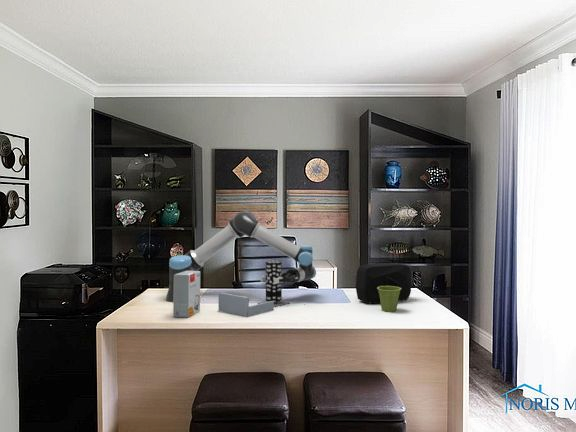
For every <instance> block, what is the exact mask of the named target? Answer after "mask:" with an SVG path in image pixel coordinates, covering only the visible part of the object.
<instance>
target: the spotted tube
mask: <svg viewBox="0 0 576 432" xmlns="http://www.w3.org/2000/svg"><path fill="white" fill-rule="evenodd" d="M282 271H283V270H282V261H277V260H275V261H274V260H272V261H271V260H270V261H265V276H266V281H265V301H274V302H278V301H283V300H282V298H283V297H282V295H283V293H282V290H283V289H282V283H278V284H274V278H280V277H282Z"/></svg>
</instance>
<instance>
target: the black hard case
mask: <svg viewBox="0 0 576 432" xmlns="http://www.w3.org/2000/svg"><path fill="white" fill-rule="evenodd" d="M380 286H395V287H400V288H401V290H400V294H399V298H398V302H401V301H406V300H408V299H409V298H410V295H411V294H412V293H411V292H412V273H411V267H410V266H408V265H407V264H403V263H399V262H398V263H397V262H384V263H371V264H368V263H367V264H363V265H359V266H358V267H357V270H356V276H355V292H356V295H357V296H356V297H357V300H359V301H360V302H363V303H366V304H381V302H380V295H379V291H378V289H377V287H380Z"/></svg>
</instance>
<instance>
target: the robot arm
mask: <svg viewBox="0 0 576 432" xmlns="http://www.w3.org/2000/svg"><path fill="white" fill-rule="evenodd" d="M227 222H228V223H227V226H226V227H224V228H222V230H219V232H218V233H216V234H215V235H214V236H213V235H212V237H210V239H208V240H206V242H204V243H202V245H200V246H199V247H197V248H196V249H195V250H193V249H190V250H189V251H188V252H187V253H185V254H184V255H180V254H179V255H175V256H172V257H170V258H169V262H168V264H169V265H168V267H169V286H168V289H167V293H166V296H165V300H166V301H168V302H172V303H173V295H174V275H175V274H178V273H181V272H184V271H199V270H200V269H202V268H203V267H204V263H206V261H208V260H209V259H211V258H212V257H213V256H215V254H217V253H219V252H220V251H221V250H222V249H224V248H225V247H227V246H228V245H229V244H230V243H232V242H233V241H234V240H236V239H241V238H243V237H244V236H247V237H248V238H254V239H256V240H258V241H260V242H262V243H263V244H266V245H267V246H269V247H271V249H272V248H273V249H274V250H276V251H278V252H280V253H281V254H283V255H284V256H286V257H288V258H290V259H292V260H293V261H295V262H297V263H298V267H295V268H290V269H288V270H287V271H286V272H283V273H282V277H280V278H274V284H278V283H292V284H293V283H299V282H302V281H308V280H309V281H310V280H312V279H314V278H315V277H316V275H317V270H316V268H315V267H314V266H313V260H314V259H313V246H312V245H307V244H306V245H305V244H304V245H300V246H298V245H297V244H295V243H293V242H291V241H289V240H287V239H286V238H284V237H283V236H280V235H279V234H278V233H275V232H274V231H272V230H270V229H269V228H267V227H265V226H263V225H262V224H261V222H260V221H258V220H257V218H256V216H255V214H253V213H252V212H251V211H247V210H244V211H240V212H238V213H236V214H235V215H234V217H232V219H230V220H229V221H227ZM264 282H265V283H266V275H263V276H260V283H264Z"/></svg>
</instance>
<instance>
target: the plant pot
mask: <svg viewBox="0 0 576 432" xmlns="http://www.w3.org/2000/svg"><path fill="white" fill-rule="evenodd" d="M377 289H378V291H379V295H380V302H381V303H380V308H381V311H383V312H388V313H391V312H396V311H397V310H398V309H397V308H398V303H399V301H398V298H399V294H400V290H401V288H400V287H395V286H380V287H377Z"/></svg>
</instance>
